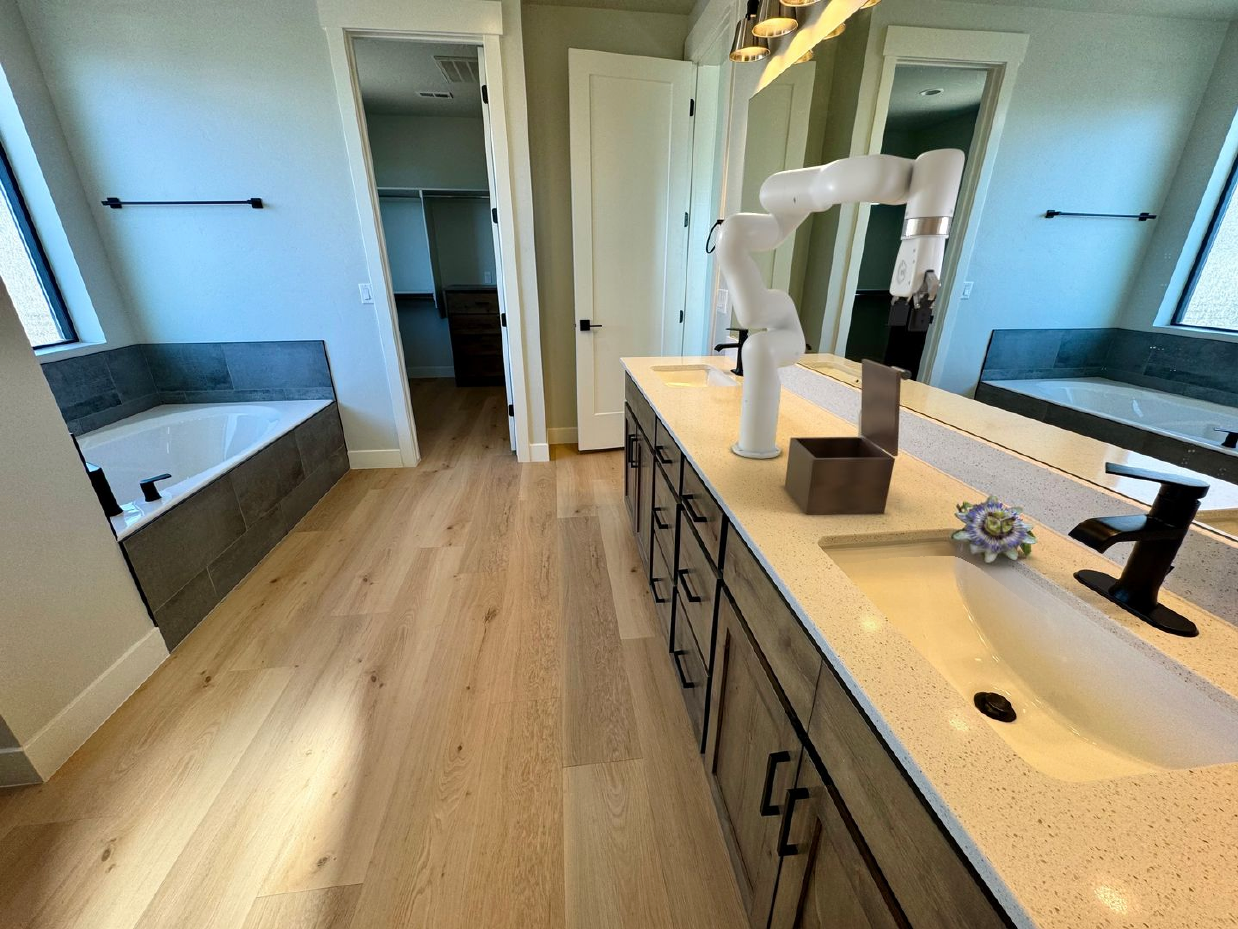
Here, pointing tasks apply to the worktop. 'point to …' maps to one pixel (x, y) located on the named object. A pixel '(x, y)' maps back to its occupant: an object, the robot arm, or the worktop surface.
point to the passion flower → (994, 529)
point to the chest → (838, 475)
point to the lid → (881, 404)
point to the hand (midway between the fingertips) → (906, 328)
